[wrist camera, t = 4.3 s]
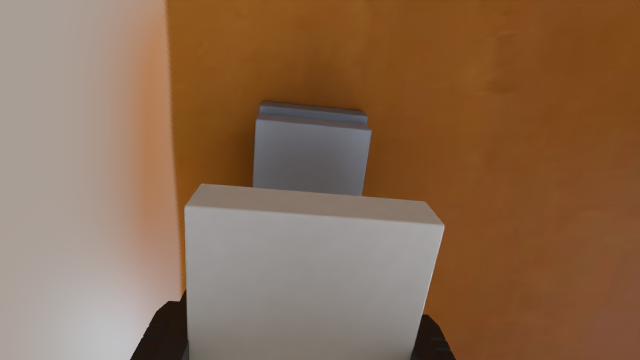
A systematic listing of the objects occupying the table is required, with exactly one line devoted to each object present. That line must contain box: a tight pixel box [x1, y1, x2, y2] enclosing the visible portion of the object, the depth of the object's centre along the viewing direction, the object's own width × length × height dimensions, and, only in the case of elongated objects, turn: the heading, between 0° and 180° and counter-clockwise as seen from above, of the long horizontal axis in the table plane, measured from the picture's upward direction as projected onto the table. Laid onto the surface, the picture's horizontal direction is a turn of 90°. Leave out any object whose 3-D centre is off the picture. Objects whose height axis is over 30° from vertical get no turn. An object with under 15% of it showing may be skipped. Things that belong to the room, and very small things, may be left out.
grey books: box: [252, 101, 372, 196], centre depth 20 cm, size 12×6×3 cm, turn 174°
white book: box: [184, 184, 444, 360], centre depth 11 cm, size 10×6×2 cm, turn 174°
